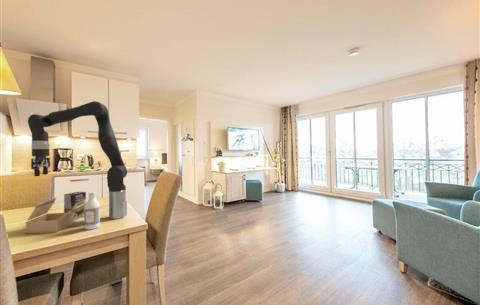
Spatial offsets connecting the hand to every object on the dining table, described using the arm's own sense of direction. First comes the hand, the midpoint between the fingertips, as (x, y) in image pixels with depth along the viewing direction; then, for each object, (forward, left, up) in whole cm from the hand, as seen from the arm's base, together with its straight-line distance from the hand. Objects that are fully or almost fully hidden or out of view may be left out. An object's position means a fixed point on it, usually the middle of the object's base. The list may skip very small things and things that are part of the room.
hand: (41, 175), depth 119 cm
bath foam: (-35, +15, -28) cm, 47 cm away
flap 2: (-20, +12, -22) cm, 32 cm away
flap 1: (-6, +12, -22) cm, 25 cm away
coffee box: (-16, -3, -28) cm, 33 cm away
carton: (-13, +12, -28) cm, 33 cm away
